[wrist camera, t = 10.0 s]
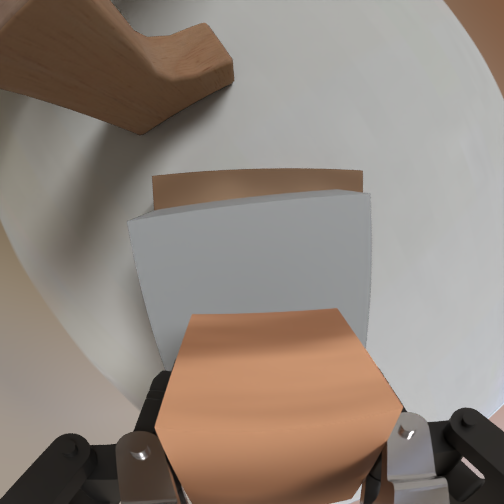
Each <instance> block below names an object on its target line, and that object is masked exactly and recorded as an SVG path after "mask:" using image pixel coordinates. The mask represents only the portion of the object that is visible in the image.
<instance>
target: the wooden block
mask: <svg viewBox="0 0 504 504" xmlns="http://www.w3.org/2000/svg"><path fill="white" fill-rule="evenodd" d="M233 81H234V71H233V60H232V58H231V56H230V55H229V54H228V52H227V51H226V49H225V48H224V46H223V45H222V43H221V42H220V41H219V39H218V38H217V36H216V35H215V34H214V32H213V31H212V29H211V28H210V27H209V25H207V24H206V23H201V24H198V25H195V26H192V27H190V28H187V29H185V30H182V31H180V32H177V33H175V34H172V35H169V36H154V37H146V36H144V35H142V34H140V33H138V32H136V31H134V30H133V28H132V27H131V26H130V25H129V23H128V22H127V21H126V20H125V18H124V17H123V16H122V15H121V13H120V12H119V11H118V10H117V8H116V7H115V6H114V5H113V3H112V2H111V1H110V0H0V89H3V90H7V91H11V92H15V93H18V94H22V95H26V96H29V97H33V98H36V99H39V100H43V101H46V102H49V103H52V104H55V105H58V106H62V107H65V108H68V109H71V110H74V111H77V112H79V113H82V114H85V115H88V116H91V117H94V118H96V119H99V120H102V121H105V122H107V123H110V124H113V125H115V126H118V127H120V128H123V129H126V130H128V131H131V132H133V133H136V134H138V135H143V134H145V133H146V132H148V131H149V130H151V129H152V128H154V127H155V126H157V125H158V124H160V123H161V122H163V121H165V120H166V119H168V118H169V117H171V116H173V115H174V114H176V113H178V112H179V111H181V110H183V109H184V108H186V107H188V106H190V105H191V104H193V103H195V102H197V101H199V100H200V99H202V98H204V97H206V96H208V95H210V94H212V93H213V92H215V91H217V90H219V89H221V88H223V87H225V86H227V85H229V84H231V83H233Z"/></svg>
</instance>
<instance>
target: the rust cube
mask: <svg viewBox="0 0 504 504" xmlns="http://www.w3.org/2000/svg"><path fill="white" fill-rule="evenodd" d="M402 409H403V406H402V404H401V402H400V401H399V399H398V398H397V396H396V395H395V393H394V392H393V390H392V388H391V387H390V385H389V384H388V382H387V381H386V379H385V378H384V376H383V375H382V373H381V372H380V370H379V369H378V367H377V366H376V364H375V363H374V361H373V360H372V358H371V357H370V355H369V354H368V352H367V351H366V349H365V348H364V346H363V345H362V343H361V342H360V340H359V339H358V337H357V336H356V334H355V333H354V332H353V330H352V329H351V327H350V326H349V324H348V323H347V321H346V320H345V319H344V317H343V316H342V314H341V313H340V311H339V310H338V309H337V308H331V309H318V310H304V311H288V312H268V313H240V314H192V315H191V318H190V321H189V323H188V326H187V329H186V332H185V335H184V338H183V341H182V344H181V347H180V349H179V352H178V355H177V358H176V361H175V364H174V367H173V370H172V373H171V376H170V379H169V383H168V386H167V389H166V392H165V395H164V398H163V401H162V404H161V408H160V411H159V414H158V417H157V421H156V424H155V427H154V428H155V430H156V433H157V435H158V437H159V440H160V442H161V444H162V446H163V449H164V451H165V453H166V455H167V457H168V459H169V461H170V463H171V465H172V467H173V469H174V471H175V473H176V475H177V477H178V479H179V481H180V483H181V485H182V487H183V488H184V490H185V492H186V494H187V495H188V497H189V499H190V501H191V502H192V504H330V503H335V502H340V501H344V500H348V499H352V497H353V496H354V494H355V493H356V491H357V490H358V489H359V487H360V486H361V484H362V483H363V481H364V479H365V478H366V476H367V475H368V473H369V472H370V470H371V468H372V467H373V465H374V463H375V462H376V460H377V458H378V456H379V455H380V453H381V451H382V449H383V447H384V446H385V444H386V442H387V440H388V438H389V436H390V434H391V432H392V430H393V428H394V426H395V424H396V422H397V420H398V418H399V416H400V413H401V411H402Z"/></svg>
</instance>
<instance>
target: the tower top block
mask: <svg viewBox="0 0 504 504" xmlns="http://www.w3.org/2000/svg"><path fill="white" fill-rule="evenodd" d="M127 225H128V230H129V236H130V241H131V246H132V251H133V256H134V261H135V265H136V270H137V274H138V278H139V283H140V287H141V291H142V295H143V298H144V302H145V306H146V310H147V313H148V317H149V320H150V324H151V327H152V331H153V334H154V337H155V340H156V344H157V347H158V350H159V353H160V356H161V359H162V362H163V365H164V368H165V370H166V371H172V368H173V365H174V362H175V359H176V358H177V355H178V352H179V349H180V347H181V344H182V341H183V338H184V335H185V332H186V329H187V326H188V323H189V321H190V318H191V315H192V314H240V313H268V312H288V311H304V310H318V309H331V308H337V309H338V310H339V311H340V313H341V314H342V316H343V317H344V319H345V320H346V321H347V323H348V324H349V326H350V327H351V329H352V330H353V332H354V333H355V334H356V336H357V337H358V339H359V340H360V342H361V343H362V345H363V346H364V348H365V349H366V341H367V332H368V321H369V308H370V293H371V267H372V222H371V197H370V194H369V193H362V192H355V191H347V190H339V189H334V190H320V191H307V192H295V193H284V194H274V195H264V196H255V197H246V198H237V199H229V200H221V201H213V202H206V203H199V204H192V205H185V206H178V207H171V208H165V209H159V210H155V211H152V212H150V213H147V214H144V215H142V216H139V217H137V218H134V219H132V220H129V221H127Z"/></svg>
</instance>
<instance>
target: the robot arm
mask: <svg viewBox="0 0 504 504" xmlns="http://www.w3.org/2000/svg"><path fill="white" fill-rule="evenodd" d="M175 361H176V359H175ZM174 364H175V362H174ZM173 367H174V365H173ZM378 369H379V368H378ZM172 370H173V368H172ZM379 370H380V369H379ZM380 372H381V371H380ZM171 373H172V371H161V372H160V373H159V374H158V375H157V376H156V377H155V378H154V379H153V382H152V384H151V387H150V391H149V392H148V394H147V397H146V398H147V399H146V400H145V402H144V405H143V407H142V410H141V413H140V415H139V418H138V421H137V423H136V426H135V429H134V431H133V432H130V433H128V434H125V435H124V436H123V437H122V438H120V439H119V441H118V442H117V444H111V445H89V443H88V442H87V440H86V439H85V438H83V437H82V436H80V435H78V434H73V433H72V434H71V433H69V434H64V435H61V436H59V437H58V438H56V439H55V440H54V441H53V442H52V443H51V445H50V446H49V447H48V448H47V449H46V450H45V451H44V452H43V453H42V454H41V455H40V456H39V458H38V459H37V460H36V461H35V462H34V463H33V464H32V465H31V466H30V467H29V468H28V469H27V470H26V472H25V473H24V474H23V475H22V476H21V477H20V478H19V479H18V480H17V481H16V482H15V484H14V485H13V486H12V487H11V488H10V489H9V490H8V491H7V492H6V494H5V495H4V496H3V497H2V498H1V499H0V504H119V503H120V501H121V504H188V501H187V498H186V495H185V492H184V489H183V487H182V485H181V483H180V481H179V479H178V477H177V475H176V473H175V471H174V469H173V467H172V465H171V463H170V461H169V459H168V457H167V455H166V453H165V451H164V449H163V446H162V444H161V442H160V440H159V437H158V435H157V433H156V430H155V428H154V427H155V424H156V421H157V417H158V414H159V411H160V408H161V404H162V401H163V398H164V395H165V392H166V389H167V386H168V383H169V379H170V376H171ZM381 373H382V372H381ZM382 375H383V374H382ZM383 376H384V375H383ZM385 379H386V378H385ZM386 381H387V380H386ZM387 382H388V381H387ZM388 384H389V383H388ZM390 387H391V386H390ZM391 388H392V387H391ZM392 390H393V389H392ZM393 392H394V391H393ZM394 393H395V392H394ZM395 395H396V394H395ZM396 396H397V395H396ZM397 398H398V397H397ZM398 399H399V398H398ZM399 401H400V400H399ZM400 402H401V401H400ZM401 404H402V403H401ZM402 406H403V405H402ZM463 457H465V458H466V459H467V460H468V461H469V462H470V463H471V464H472V465H473V466H474V467H476V468H477V469H478V470H479V471H480V472H481V473H482V474H483V475H484V477H485V479H481V478H479V477H478V476H477V475H476V474H475V473H474V472H473V471H471V469H469V468H468V467H467V466H466V465H465V464H464V463H463V462H462V461H461V459H462V458H463ZM360 504H504V432H503V431H502V430H501V429H500V428H498V427H497V426H496V425H494V424H493V423H492V422H491V421H489V420H488V419H487V418H486V417H485V416H483V415H482V414H481V413H479V412H478V411H477V410H475V409H472V408H461V409H458V410H456V411H455V412H454V413H453V414H452V416H451V418H450V419H449V420H448V421H438V422H427V421H426V420H425V419H424V418H423V417H422V416H420V415H418V414H416V413H411V412H407V411H406V409H405V408H404V406H403V409H402V411H401V413H400V416H399V418H398V420H397V422H396V424H395V426H394V428H393V430H392V432H391V434H390V436H389V438H388V440H387V442H386V444H385V446H384V447H383V449H382V451H381V453H380V455H379V456H378V458H377V460H376V462H375V463H374V465H373V467H372V468H371V470H370V472H369V473H368V475H367V476H366V478H365V479H364V481H363V483H362V490H361V498H360Z"/></svg>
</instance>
